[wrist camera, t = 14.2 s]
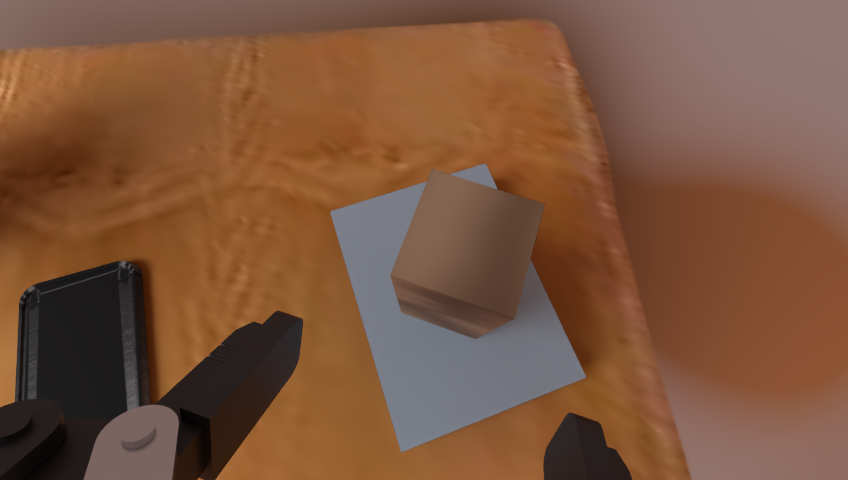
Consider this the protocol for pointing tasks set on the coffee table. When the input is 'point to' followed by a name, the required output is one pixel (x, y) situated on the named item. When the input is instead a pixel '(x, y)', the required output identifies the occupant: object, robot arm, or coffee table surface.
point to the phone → (85, 342)
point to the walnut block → (465, 255)
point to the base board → (445, 332)
